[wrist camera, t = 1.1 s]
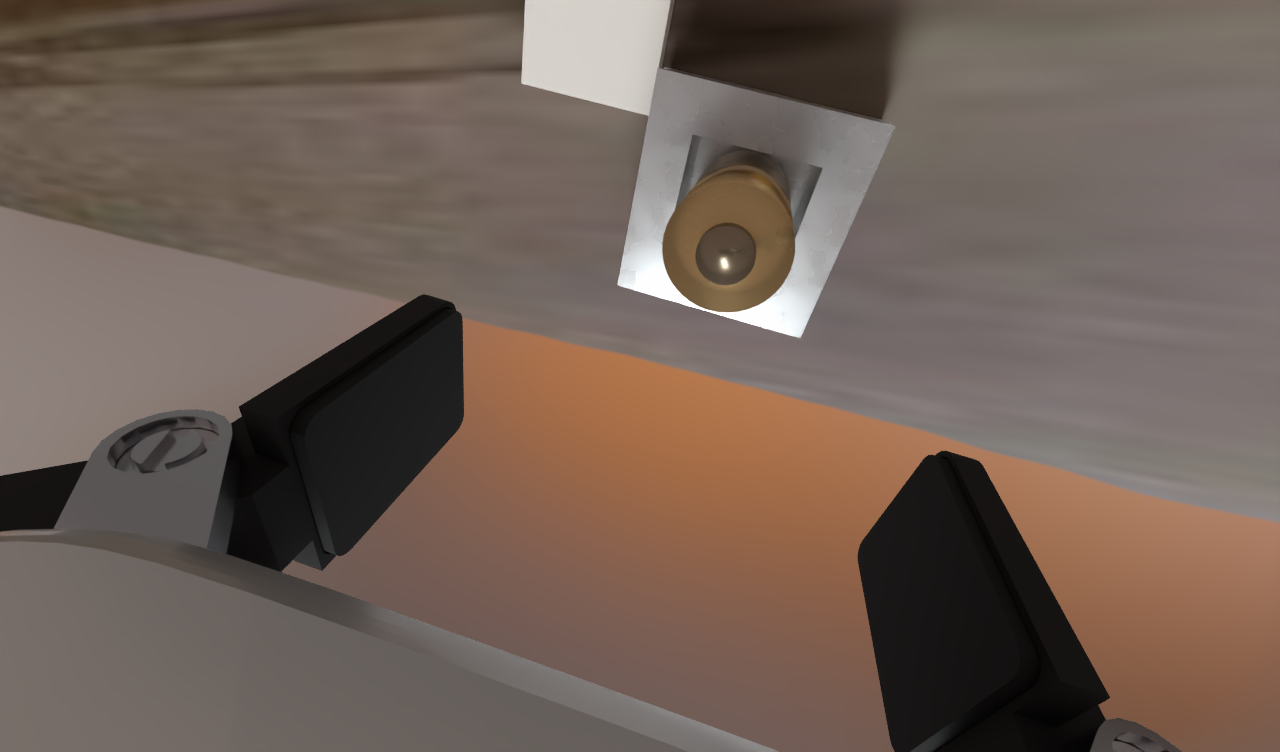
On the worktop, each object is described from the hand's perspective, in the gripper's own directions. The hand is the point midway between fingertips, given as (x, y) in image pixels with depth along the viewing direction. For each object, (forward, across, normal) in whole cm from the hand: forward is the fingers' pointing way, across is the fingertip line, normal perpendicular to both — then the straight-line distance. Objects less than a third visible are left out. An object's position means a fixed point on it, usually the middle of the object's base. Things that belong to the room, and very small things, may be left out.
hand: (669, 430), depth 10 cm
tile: (+24, +10, -7) cm, 27 cm away
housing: (+24, 0, 0) cm, 24 cm away
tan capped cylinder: (+22, 0, 0) cm, 22 cm away
